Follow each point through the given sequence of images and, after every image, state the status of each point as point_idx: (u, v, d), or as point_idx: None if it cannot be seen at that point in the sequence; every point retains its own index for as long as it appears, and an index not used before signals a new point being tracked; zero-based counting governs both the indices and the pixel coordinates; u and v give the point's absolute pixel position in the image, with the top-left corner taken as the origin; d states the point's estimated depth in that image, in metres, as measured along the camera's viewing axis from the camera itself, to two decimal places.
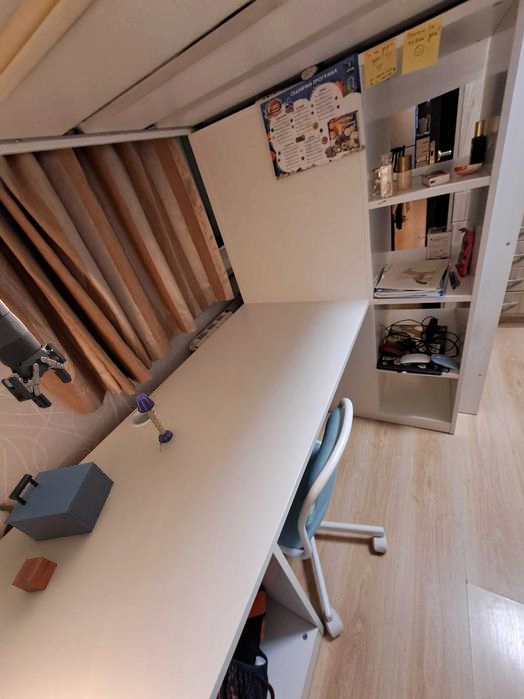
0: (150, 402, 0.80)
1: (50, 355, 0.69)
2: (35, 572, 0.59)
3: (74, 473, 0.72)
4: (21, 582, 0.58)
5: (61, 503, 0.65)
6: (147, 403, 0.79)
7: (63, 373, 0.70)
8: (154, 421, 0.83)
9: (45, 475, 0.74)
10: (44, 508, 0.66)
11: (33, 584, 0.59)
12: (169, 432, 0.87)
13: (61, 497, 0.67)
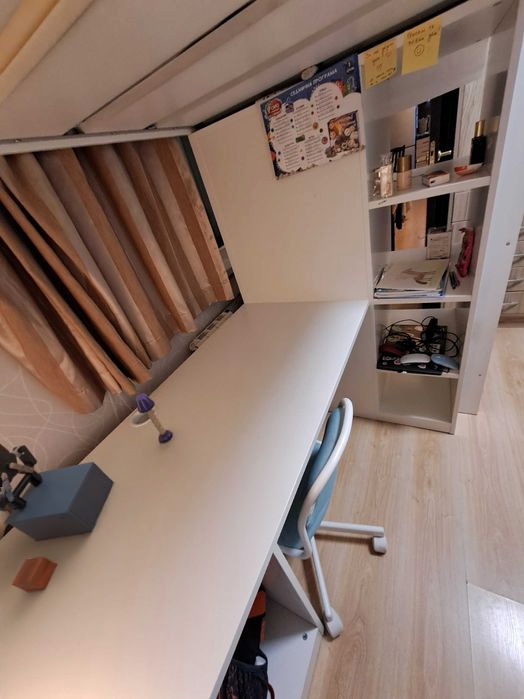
0: (150, 402, 0.80)
1: (21, 457, 0.71)
2: (35, 572, 0.59)
3: (74, 473, 0.72)
4: (21, 582, 0.58)
5: (61, 503, 0.65)
6: (147, 403, 0.79)
7: (33, 476, 0.71)
8: (154, 421, 0.83)
9: (45, 475, 0.74)
10: (44, 508, 0.66)
11: (33, 584, 0.59)
12: (169, 432, 0.87)
13: (61, 497, 0.67)
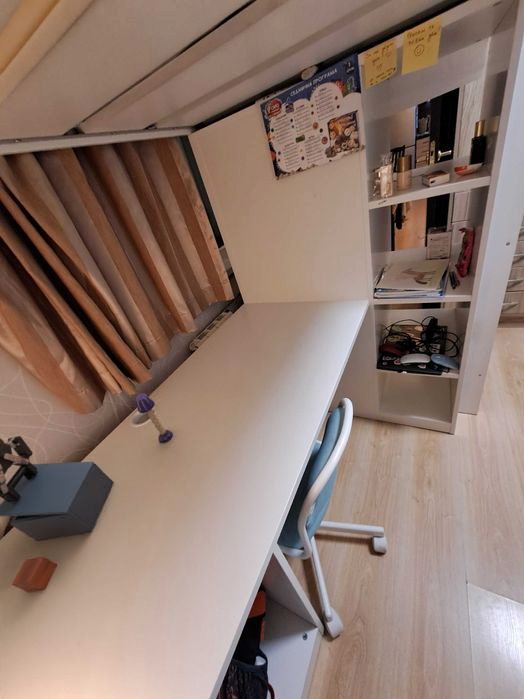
0: (150, 402, 0.80)
1: (16, 448, 0.69)
2: (35, 572, 0.59)
3: (73, 471, 0.71)
4: (21, 582, 0.58)
5: (60, 502, 0.65)
6: (147, 403, 0.79)
7: (28, 468, 0.69)
8: (154, 421, 0.83)
9: (39, 468, 0.73)
10: (40, 505, 0.65)
11: (33, 584, 0.59)
12: (169, 432, 0.87)
13: (59, 495, 0.66)
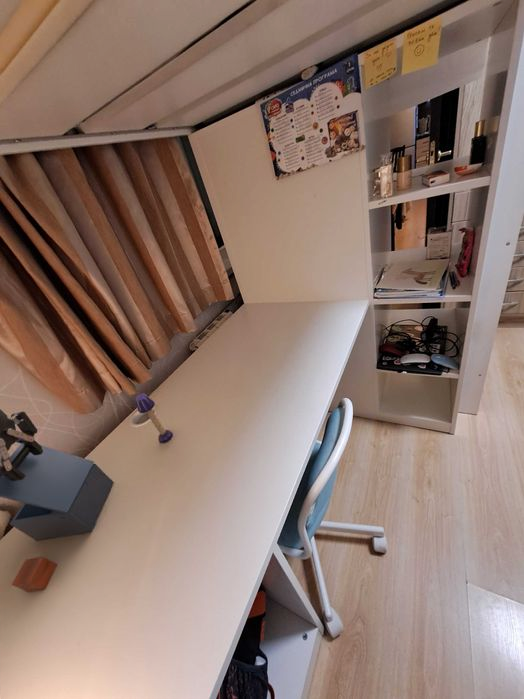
0: (150, 402, 0.80)
1: (20, 425, 0.64)
2: (35, 572, 0.59)
3: (73, 465, 0.70)
4: (21, 582, 0.58)
5: (61, 498, 0.64)
6: (147, 403, 0.79)
7: (33, 446, 0.65)
8: (154, 421, 0.83)
9: None
10: (39, 495, 0.63)
11: (33, 584, 0.59)
12: (169, 432, 0.87)
13: (59, 490, 0.65)
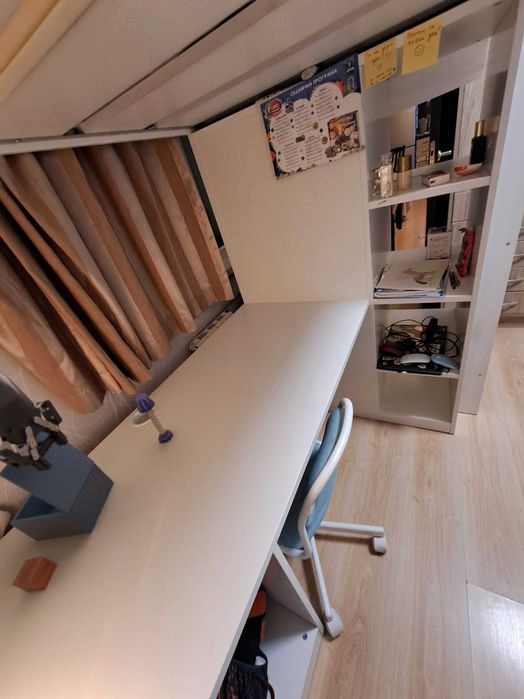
0: (150, 402, 0.80)
1: (45, 414, 0.62)
2: (35, 572, 0.59)
3: (78, 462, 0.70)
4: (21, 582, 0.58)
5: (65, 497, 0.64)
6: (147, 403, 0.79)
7: (58, 436, 0.63)
8: (154, 421, 0.83)
9: None
10: (47, 489, 0.61)
11: (33, 584, 0.59)
12: (169, 432, 0.87)
13: (64, 487, 0.65)
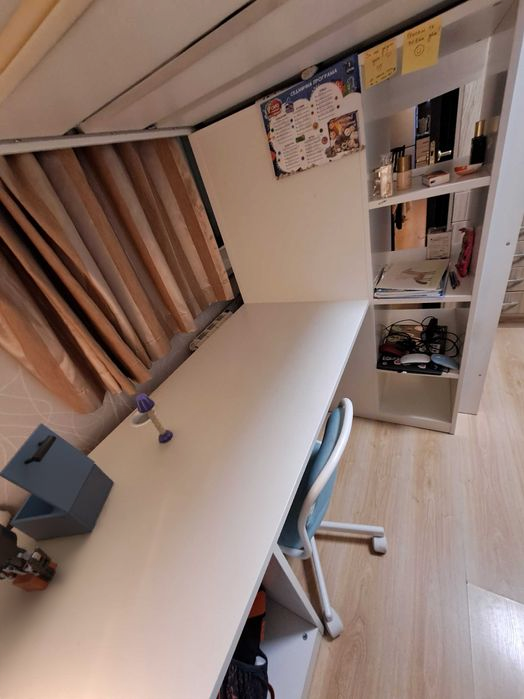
0: (150, 402, 0.80)
1: None
2: None
3: (78, 462, 0.70)
4: (21, 582, 0.58)
5: (65, 497, 0.64)
6: (147, 403, 0.79)
7: None
8: (154, 421, 0.83)
9: None
10: (47, 489, 0.61)
11: (33, 584, 0.59)
12: (169, 432, 0.87)
13: (64, 487, 0.65)
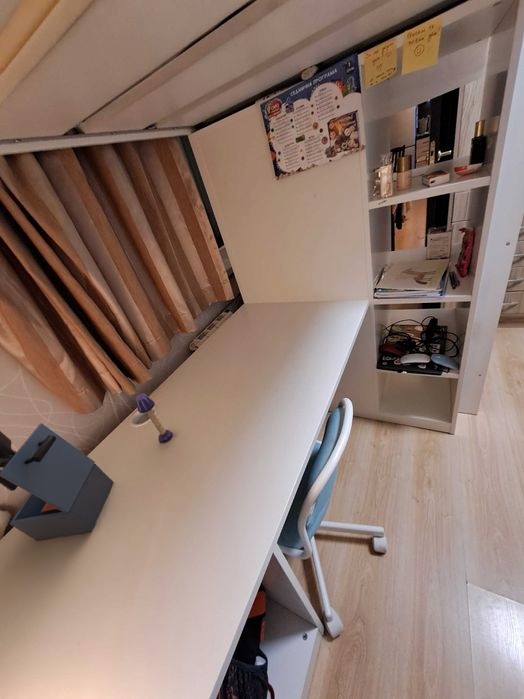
0: (150, 402, 0.80)
1: None
2: None
3: (78, 462, 0.70)
4: (49, 509, 0.70)
5: (65, 497, 0.64)
6: (147, 403, 0.79)
7: None
8: (154, 421, 0.83)
9: None
10: (47, 489, 0.61)
11: (59, 511, 0.71)
12: (169, 432, 0.87)
13: (64, 487, 0.65)
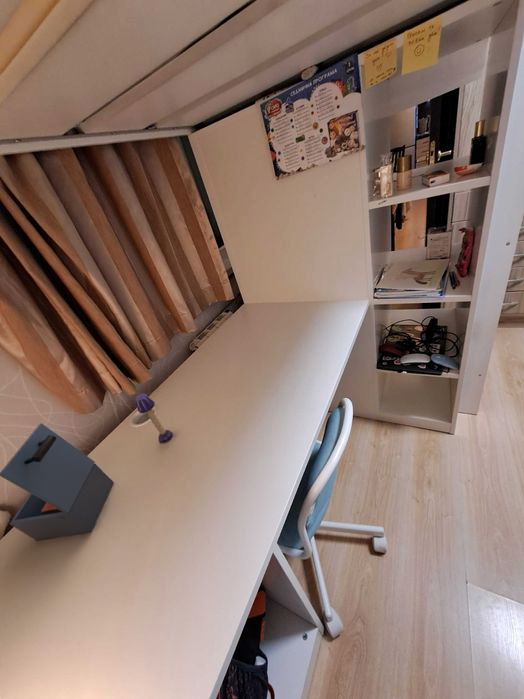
0: (150, 402, 0.80)
1: None
2: None
3: (78, 462, 0.70)
4: (49, 509, 0.70)
5: (65, 497, 0.64)
6: (147, 403, 0.79)
7: None
8: (154, 421, 0.83)
9: None
10: (47, 489, 0.61)
11: (59, 511, 0.71)
12: (169, 432, 0.87)
13: (64, 487, 0.65)
